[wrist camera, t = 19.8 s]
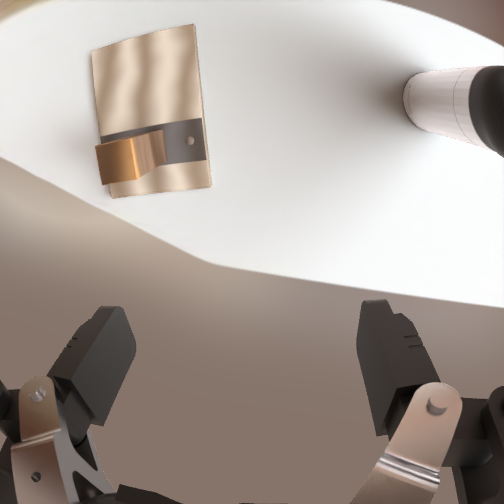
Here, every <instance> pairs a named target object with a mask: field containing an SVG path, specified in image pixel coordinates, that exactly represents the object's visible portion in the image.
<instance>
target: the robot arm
mask: <svg viewBox="0 0 504 504" xmlns="http://www.w3.org/2000/svg"><path fill="white" fill-rule="evenodd" d="M403 102H404V107H405V110H406V113H407V115H408V117H409V118H410V119H411V121H412V122H413V123H414V124H415V125H416V126H417V127H419V128H421V129H422V130H425V131H429V132H433V133H436V134H440V135H443V136H447V137H451V138H454V139H458V140H461V141H465V142H468V143H471V144H474V145H478V146H481V147H484V148H487V149H490V150H493V151H496V152H497V153H498V154H499V155H501V156H502V157H504V66H482V67H470V68H458V69H448V70H439V71H430V72H423V73H419V74H416V75H414V76H413V77H411V78H410V79H409V81H408V82H407V84H406V86H405V88H404V92H403ZM356 341H357V342H356V344H357V354H358V359H359V363H360V366H361V371H362V374H363V379H364V382H365V387H366V391H367V395H368V399H369V404H370V408H371V413H372V417H373V421H374V426H375V431H376V436H382V435H388V436H389V442H390V443H389V444H388V446H387V448H386V450H385V451H384V453H383V454H382V456H381V458H380V459H379V461H378V462H377V464H376V466H375V467H374V469H373V470H372V472H371V473H370V475H369V476H368V478H367V480H366V481H365V483H364V484H363V486H362V487H361V488H360V490H359V491H358V493H357V494H356V496H355V497H354V498H353V500H352V501H351V503H350V504H430V502H431V501H432V498H433V496H434V494H435V492H436V490H437V488H438V485H439V482H440V478H439V477H438V473H439V470H440V468H441V467H443V466H444V467H452V471H453V475H454V481H455V486H456V491H457V496H458V501H459V504H504V386H501V387H499V388H497V389H495V390H494V391H493V392H492V394H491V395H490V397H489V398H488V399H473V398H462V397H460V395H459V394H458V392H457V391H456V390H455V389H454V388H452V387H451V386H449V385H447V384H444V383H441V381H440V379H439V377H438V375H437V373H436V370H435V368H434V366H433V364H432V361H431V359H430V357H429V355H428V353H427V351H426V349H425V347H424V346H423V343H422V341H421V338H420V337H418V332H417V330H416V329H415V327H414V325H413V323H412V322H411V321H410V320H409V319H408V318H407V317H405V316H404V315H403V314H402V313H399V314H393V312H392V310H391V308H390V305H389V304H388V301H387V300H386V299H380V300H368V301H363V302H362V306H361V312H360V319H359V326H358V332H357V340H356ZM135 353H136V341H135V338H134V336H133V333H132V330H131V328H130V326H129V323H128V320H127V317H126V315H125V312H124V310H123V309H122V308H121V307H119V306H101V307H99V308H98V310H97V311H96V313H95V314H94V315H93V317H92V318H91V319H89V320H88V321H87V322H85V323H84V324H83V325H82V326H80V327H79V328H78V330H77V331H76V333H75V334H74V335H73V337H72V340H70V341H69V343H68V344H67V347H65V348H64V350H63V351H62V353H61V354H60V356H59V357H58V359H57V360H56V362H55V363H54V365H53V366H52V368H51V369H50V371H49V372H48V374H47V375H46V376H42V375H40V376H35V377H33V378H31V379H29V380H28V381H27V382H25V383H24V385H23V386H22V388H21V389H15V390H7V388H6V387H5V386H4V384H3V383H2V382H1V380H0V431H1V432H2V433H3V434H4V435H5V436H6V437H7V438H6V441H5V443H4V445H3V447H2V449H1V451H0V504H181V503H179V502H176V501H174V500H172V499H169V498H167V497H165V496H162V495H160V494H158V493H155V492H151V491H146V490H142V489H137V488H133V487H129V486H125V485H121V484H120V485H119V488H118V491H117V493H116V491H115V490H114V488H113V487H112V485H111V484H110V483H109V481H108V480H107V478H106V476H105V474H104V472H103V469H102V466H101V463H100V460H99V457H98V455H97V451H96V448H95V445H94V442H93V439H92V435H91V433H90V431H89V430H88V428H89V426H90V424H95V425H99V426H104V423H105V421H106V419H107V416H108V414H109V412H110V409H111V407H112V405H113V403H114V400H115V398H116V396H117V394H118V391H119V389H120V387H121V385H122V383H123V380H124V378H125V376H126V374H127V372H128V370H129V367H130V365H131V363H132V361H133V359H134V357H135ZM241 504H250V503H241ZM251 504H252V503H251Z"/></svg>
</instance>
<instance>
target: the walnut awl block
mask: <svg viewBox="0 0 504 504" xmlns="http://www.w3.org/2000/svg"><path fill="white" fill-rule="evenodd" d="M95 149H96V155H97V161H98V166H99V171H100V176H101V181H102V185H106V184H112V183H118V182H125V181H131V180H137V179H139V178H140V177H141V176H143V175H145V174H146V173H148V172H150V171H151V170H153V169H155V168H156V167H158V166H160V165H161V164H163V163H165V162H166V161H168V160H167V153H166V146H165V139H164V131H163V130H157V131H152V132H146V133H141V134H136V135H132V136H128V137H125V138H121V139H118V140H114V141H111V142H108V143H105V144H101V145H98V146H95Z"/></svg>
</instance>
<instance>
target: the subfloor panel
mask: <svg viewBox="0 0 504 504" xmlns="http://www.w3.org/2000/svg"><path fill="white" fill-rule="evenodd" d="M92 66H93V78H94V89H95V98H96V107H97V115H98V122H99V129H100V136H101V137H100V138H101V144H105V143H108V142H111V141H114V140H118V139H121V138H125V137H128V136H132V135H136V134H141V133H146V132H152V131H157V130H163V131H164V139H165V146H166V153H167V160H168V161H166V162H165V163H163V164H161V165H160V166H158V167H156V168H155V169H153V170H151V171H150V172H148V173H146V174H145V175H143V176H141V177H140V178H139V179H137V180H131V181H125V182H118V183H112V184H109V186H110V191H111V196H112V199H113V198H120V197H128V196H136V195H144V194H152V193H161V192H170V191H179V190H189V189H199V188H210V187H211V186H212V180H211V172H210V164H209V155H208V147H207V138H206V129H205V120H204V111H203V102H202V92H201V82H200V72H199V61H198V50H197V39H196V27H195V25H194V24H189V25H184V26H179V27H175V28H170V29H166V30H161V31H157V32H153V33H149V34H145V35H142V36H138V37H135V38H131V39H128V40H125V41H121V42H118V43H115V44H112V45H109V46H106V47H103V48H100V49H97V50H95V51H92Z"/></svg>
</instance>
